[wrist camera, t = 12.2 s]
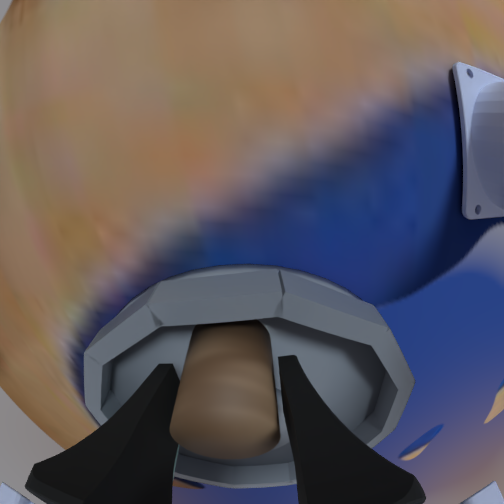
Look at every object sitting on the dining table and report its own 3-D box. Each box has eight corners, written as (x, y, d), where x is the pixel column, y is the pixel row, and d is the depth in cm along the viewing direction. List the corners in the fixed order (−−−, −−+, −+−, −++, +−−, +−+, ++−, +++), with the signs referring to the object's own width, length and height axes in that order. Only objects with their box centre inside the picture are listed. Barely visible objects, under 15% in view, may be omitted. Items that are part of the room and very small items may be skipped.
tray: (412, 241, 12) (446, 265, 9) (366, 442, 18) (374, 467, 15) (58, 282, 12) (29, 308, 10) (160, 457, 19) (154, 482, 16)
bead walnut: (266, 306, 11) (277, 405, 7) (273, 366, 13) (282, 456, 8) (182, 314, 11) (152, 408, 7) (201, 372, 13) (188, 458, 8)
